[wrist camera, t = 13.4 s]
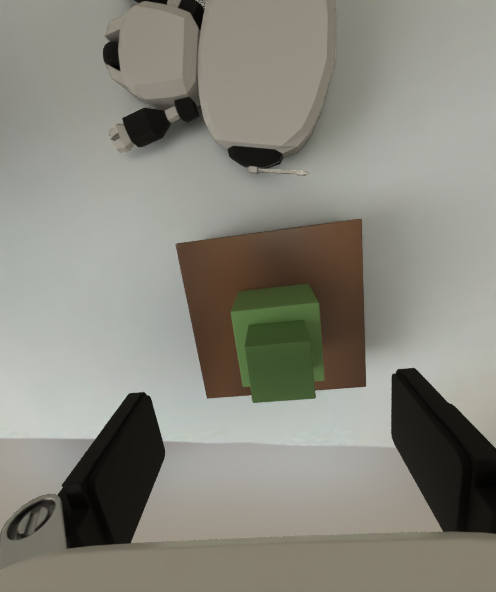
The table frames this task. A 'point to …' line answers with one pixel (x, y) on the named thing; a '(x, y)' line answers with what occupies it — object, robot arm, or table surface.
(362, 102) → the table surface
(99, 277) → the table surface
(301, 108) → the robot toy
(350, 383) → the walnut plinth
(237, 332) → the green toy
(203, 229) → the table surface
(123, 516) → the robot arm
